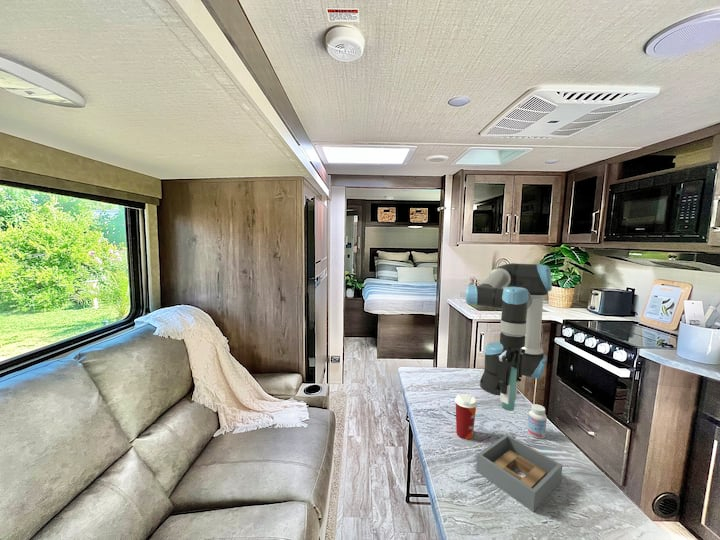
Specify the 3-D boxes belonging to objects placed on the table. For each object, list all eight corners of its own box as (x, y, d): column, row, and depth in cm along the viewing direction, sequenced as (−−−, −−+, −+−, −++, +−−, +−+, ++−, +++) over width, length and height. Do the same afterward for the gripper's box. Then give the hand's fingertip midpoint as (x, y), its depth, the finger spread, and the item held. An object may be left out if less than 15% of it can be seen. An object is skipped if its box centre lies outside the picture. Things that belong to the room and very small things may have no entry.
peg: (505, 403, 105) (507, 364, 103) (516, 408, 101) (519, 369, 100) (498, 406, 102) (501, 367, 101) (510, 412, 99) (512, 371, 98)
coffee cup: (477, 443, 112) (479, 405, 110) (454, 440, 114) (456, 403, 112) (473, 429, 120) (475, 393, 119) (452, 426, 122) (453, 391, 120)
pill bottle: (525, 434, 117) (527, 407, 116) (529, 427, 122) (531, 401, 120) (543, 441, 113) (545, 413, 112) (546, 433, 117) (549, 407, 116)
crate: (505, 449, 109) (506, 433, 108) (560, 482, 94) (562, 464, 94) (476, 471, 99) (477, 454, 98) (533, 512, 84) (534, 492, 83)
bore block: (509, 457, 105) (509, 449, 104) (546, 480, 95) (546, 471, 95) (490, 472, 98) (490, 464, 98) (527, 499, 88) (528, 490, 88)
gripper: (515, 327, 107) (511, 389, 109) (487, 334, 98) (483, 402, 100) (537, 332, 101) (532, 398, 103) (509, 341, 92) (504, 413, 94)
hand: (508, 400), depth 102 cm, fingers closed on peg, 4 cm apart
